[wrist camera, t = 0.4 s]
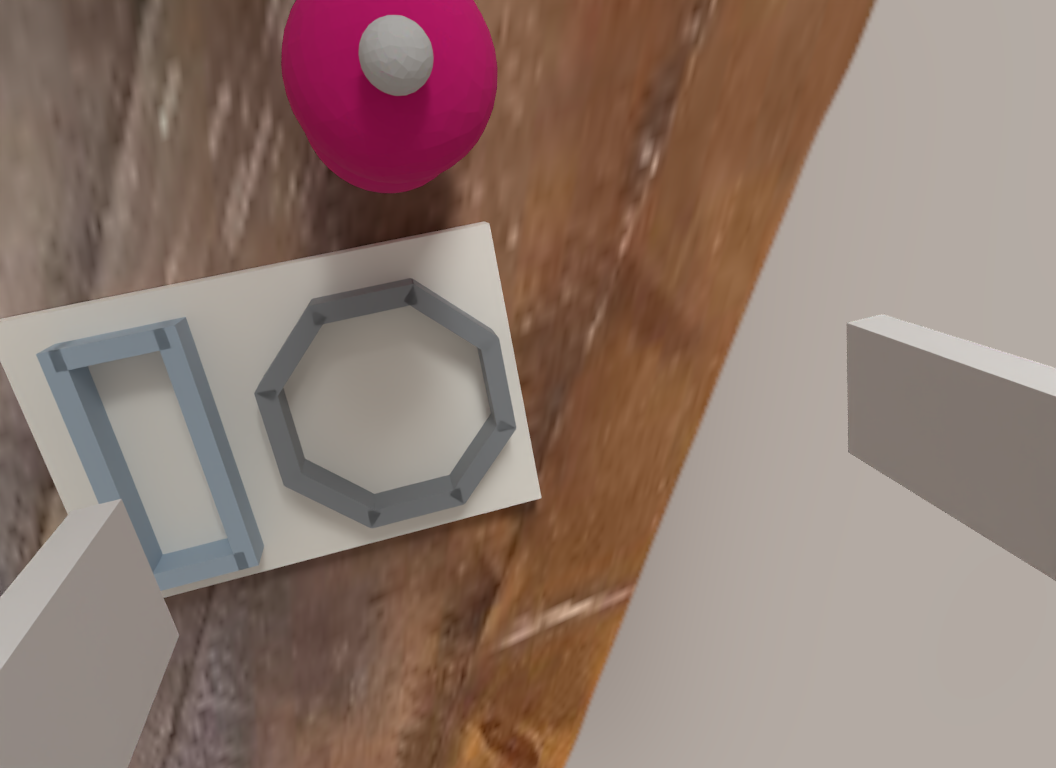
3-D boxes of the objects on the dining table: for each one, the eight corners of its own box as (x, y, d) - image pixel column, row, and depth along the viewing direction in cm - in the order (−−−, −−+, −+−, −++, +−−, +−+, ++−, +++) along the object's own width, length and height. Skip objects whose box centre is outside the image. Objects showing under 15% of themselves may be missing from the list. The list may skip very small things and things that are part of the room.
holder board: (0, 318, 34) (-40, 334, 30) (484, 221, 37) (495, 226, 34) (120, 596, 39) (97, 635, 36) (535, 487, 42) (549, 513, 39)
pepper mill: (431, 18, 34) (505, -169, 15) (472, 169, 36) (581, 167, 18) (284, 56, 33) (172, -93, 14) (336, 207, 36) (299, 248, 17)
